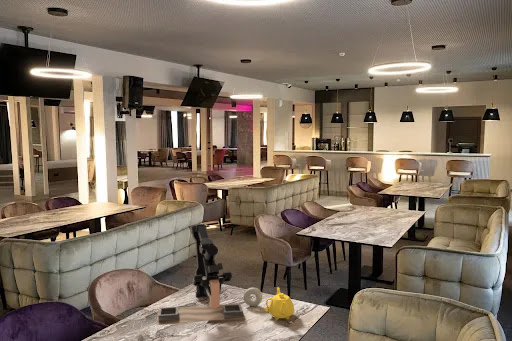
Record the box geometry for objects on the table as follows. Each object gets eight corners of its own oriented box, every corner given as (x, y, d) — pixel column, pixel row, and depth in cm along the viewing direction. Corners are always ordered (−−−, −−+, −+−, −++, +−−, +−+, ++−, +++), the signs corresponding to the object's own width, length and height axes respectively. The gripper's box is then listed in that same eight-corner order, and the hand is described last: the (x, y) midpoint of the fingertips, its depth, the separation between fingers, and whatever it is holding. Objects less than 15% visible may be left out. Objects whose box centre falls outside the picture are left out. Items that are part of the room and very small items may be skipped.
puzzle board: (158, 312, 209) (158, 303, 209) (240, 306, 216) (240, 297, 216) (156, 327, 192) (155, 318, 192) (245, 320, 199) (245, 311, 199)
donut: (262, 304, 218) (262, 286, 217) (262, 307, 214) (262, 289, 214) (243, 304, 218) (243, 286, 217) (243, 307, 215) (243, 288, 214)
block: (209, 304, 200) (209, 280, 199) (217, 303, 201) (217, 279, 200) (211, 308, 196) (211, 283, 195) (219, 307, 198) (219, 282, 196)
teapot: (262, 308, 214) (262, 287, 213) (290, 307, 215) (290, 285, 214) (267, 326, 194) (267, 302, 193) (298, 324, 195) (298, 301, 194)
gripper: (193, 259, 197) (197, 290, 188) (231, 255, 203) (237, 285, 194) (190, 270, 206) (195, 299, 196) (227, 266, 212) (232, 295, 202)
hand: (215, 294), depth 197 cm, fingers closed on block, 4 cm apart
